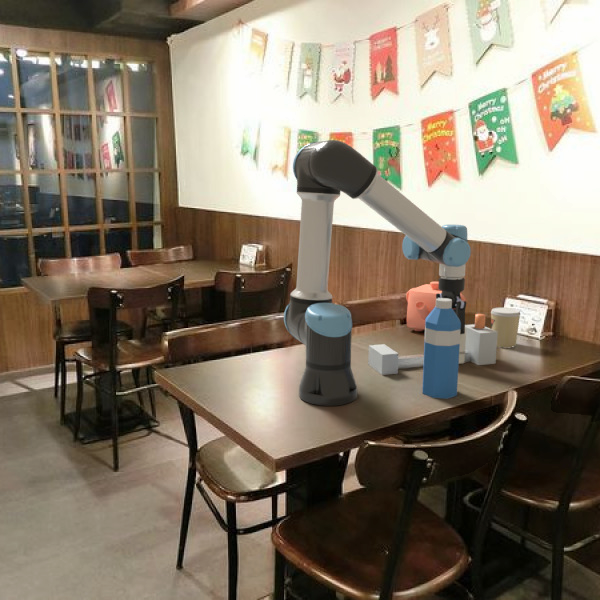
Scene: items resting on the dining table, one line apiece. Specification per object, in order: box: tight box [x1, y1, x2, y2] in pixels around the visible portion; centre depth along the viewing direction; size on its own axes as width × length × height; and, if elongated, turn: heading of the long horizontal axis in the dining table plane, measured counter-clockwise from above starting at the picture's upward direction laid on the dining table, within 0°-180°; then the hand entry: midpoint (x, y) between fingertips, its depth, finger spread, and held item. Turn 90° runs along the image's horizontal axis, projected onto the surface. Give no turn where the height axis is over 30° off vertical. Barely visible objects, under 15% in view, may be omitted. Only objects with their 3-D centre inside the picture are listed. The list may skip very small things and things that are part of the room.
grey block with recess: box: [465, 323, 498, 366], centre depth 183 cm, size 6×10×10 cm, turn 16°
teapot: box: [405, 281, 467, 332], centre depth 216 cm, size 25×23×18 cm
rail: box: [398, 350, 471, 370], centre depth 179 cm, size 26×2×3 cm, turn 106°
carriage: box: [459, 328, 466, 365], centre depth 180 cm, size 8×6×11 cm
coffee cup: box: [490, 307, 521, 348], centre depth 199 cm, size 9×9×12 cm
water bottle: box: [422, 298, 461, 399], centre depth 154 cm, size 9×9×25 cm
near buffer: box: [367, 343, 399, 376], centre depth 175 cm, size 5×10×6 cm, turn 16°
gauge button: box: [474, 313, 487, 329], centre depth 181 cm, size 3×3×4 cm
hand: (447, 351), depth 180 cm, fingers closed on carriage, 6 cm apart
